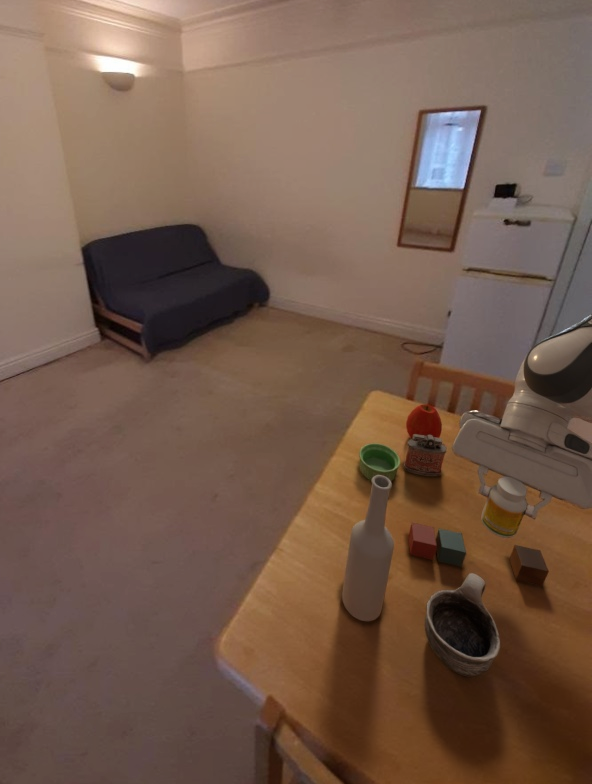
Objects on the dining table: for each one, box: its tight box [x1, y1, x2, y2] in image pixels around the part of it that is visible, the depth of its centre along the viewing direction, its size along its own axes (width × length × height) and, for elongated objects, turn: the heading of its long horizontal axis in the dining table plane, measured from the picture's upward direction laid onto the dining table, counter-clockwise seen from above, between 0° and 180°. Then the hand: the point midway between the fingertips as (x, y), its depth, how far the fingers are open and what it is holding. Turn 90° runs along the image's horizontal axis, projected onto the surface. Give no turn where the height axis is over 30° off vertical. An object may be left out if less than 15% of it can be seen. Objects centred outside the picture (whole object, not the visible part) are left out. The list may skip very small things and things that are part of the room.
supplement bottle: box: [480, 476, 528, 539], centre depth 68 cm, size 5×5×10 cm
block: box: [435, 528, 467, 567], centre depth 75 cm, size 4×4×4 cm
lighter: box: [403, 434, 448, 477], centre depth 93 cm, size 8×3×10 cm, turn 74°
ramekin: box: [358, 442, 401, 482], centre depth 94 cm, size 9×9×4 cm
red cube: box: [408, 522, 437, 560], centre depth 77 cm, size 4×4×4 cm
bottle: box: [341, 475, 395, 622], centre depth 63 cm, size 7×7×28 cm
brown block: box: [508, 544, 550, 587], centre depth 72 cm, size 4×4×4 cm
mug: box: [424, 572, 501, 677], centre depth 62 cm, size 10×12×10 cm
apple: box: [405, 403, 443, 440], centre depth 102 cm, size 8×8×11 cm
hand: (505, 506), depth 68 cm, fingers closed on supplement bottle, 5 cm apart
